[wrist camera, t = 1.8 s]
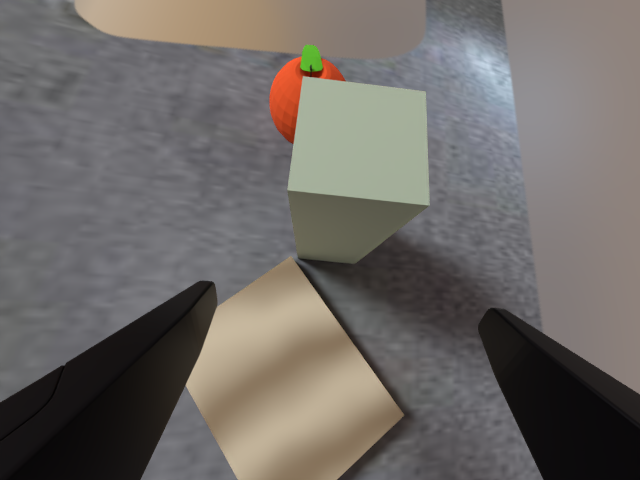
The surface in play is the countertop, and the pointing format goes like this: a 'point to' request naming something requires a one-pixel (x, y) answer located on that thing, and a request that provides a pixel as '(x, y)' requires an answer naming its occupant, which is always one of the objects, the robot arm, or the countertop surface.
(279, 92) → the clementine
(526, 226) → the countertop surface
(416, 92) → the green block
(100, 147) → the countertop surface
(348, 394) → the birch board
